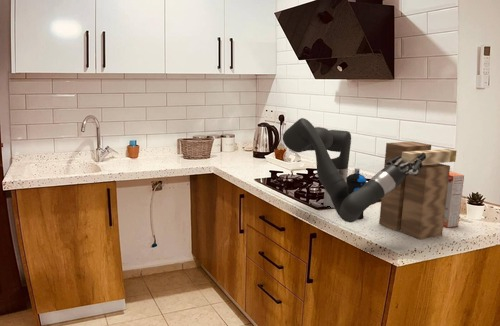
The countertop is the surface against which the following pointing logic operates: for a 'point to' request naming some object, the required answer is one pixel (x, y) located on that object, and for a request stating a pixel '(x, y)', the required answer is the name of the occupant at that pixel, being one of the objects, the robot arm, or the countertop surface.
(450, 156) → the maple bar
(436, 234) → the brown stepped wooden block
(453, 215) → the cracker box
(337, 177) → the robot arm
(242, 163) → the countertop surface
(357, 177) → the aerosol can
